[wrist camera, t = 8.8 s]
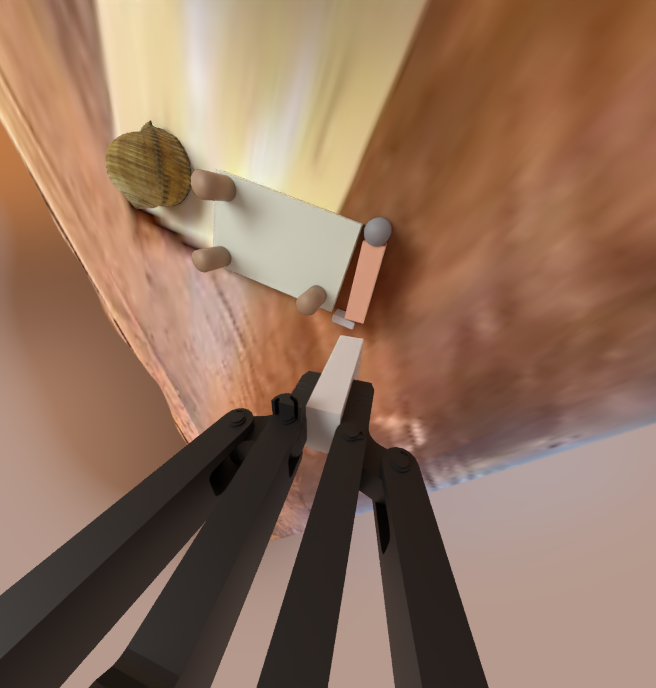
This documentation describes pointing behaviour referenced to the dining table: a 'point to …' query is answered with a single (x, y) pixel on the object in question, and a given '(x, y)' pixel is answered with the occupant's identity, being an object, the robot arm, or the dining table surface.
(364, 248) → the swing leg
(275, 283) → the pale board with pegs
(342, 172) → the dining table surface
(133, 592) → the robot arm
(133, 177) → the seashell
